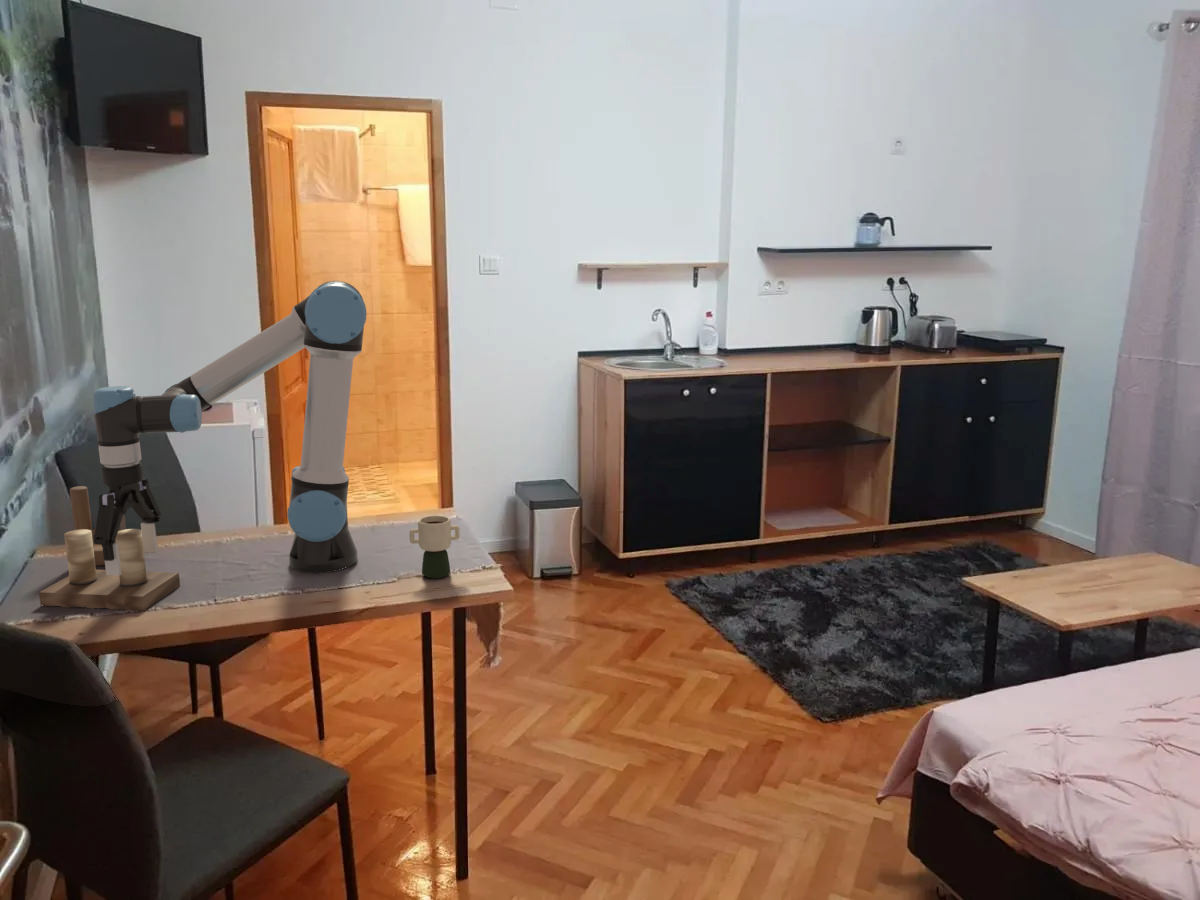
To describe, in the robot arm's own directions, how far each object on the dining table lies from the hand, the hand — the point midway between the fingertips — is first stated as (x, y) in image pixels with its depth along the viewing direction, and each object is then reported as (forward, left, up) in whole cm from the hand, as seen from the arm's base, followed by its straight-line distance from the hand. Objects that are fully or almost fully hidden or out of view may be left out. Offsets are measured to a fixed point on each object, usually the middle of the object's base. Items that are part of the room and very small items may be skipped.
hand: (133, 563), depth 199 cm
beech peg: (0, 0, -7) cm, 7 cm away
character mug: (-59, -19, -8) cm, 62 cm away
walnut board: (+5, 0, -7) cm, 9 cm away
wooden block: (+19, -19, -8) cm, 28 cm away
